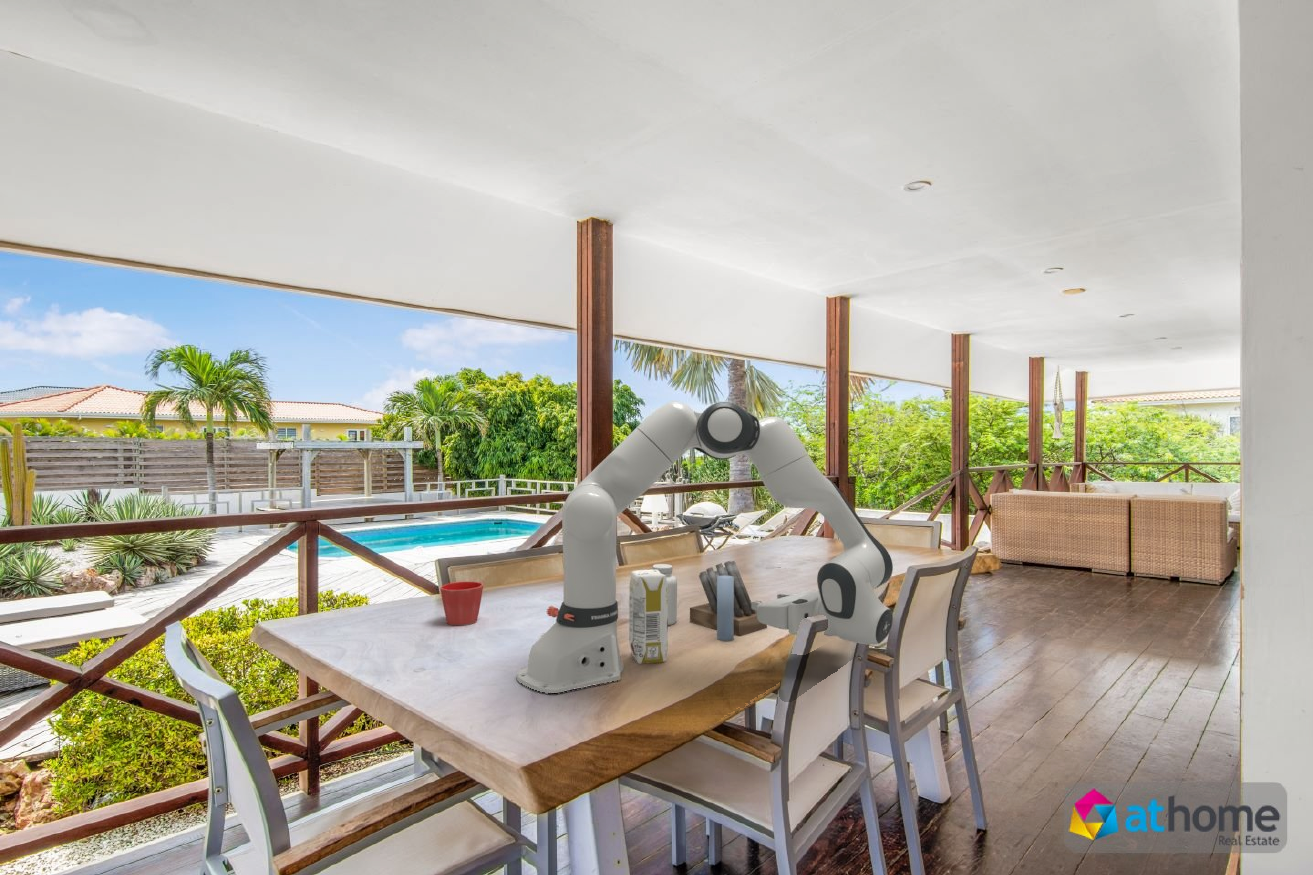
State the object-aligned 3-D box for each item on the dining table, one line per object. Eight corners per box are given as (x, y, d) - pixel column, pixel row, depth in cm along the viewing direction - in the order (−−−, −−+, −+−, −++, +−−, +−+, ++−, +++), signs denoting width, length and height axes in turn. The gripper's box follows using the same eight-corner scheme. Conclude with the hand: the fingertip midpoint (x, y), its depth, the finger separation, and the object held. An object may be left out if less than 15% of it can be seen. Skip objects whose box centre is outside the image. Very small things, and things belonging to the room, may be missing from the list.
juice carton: (636, 665, 143) (636, 577, 143) (627, 653, 152) (627, 569, 152) (670, 662, 145) (670, 575, 145) (659, 650, 154) (659, 568, 154)
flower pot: (437, 619, 180) (437, 583, 180) (479, 614, 185) (479, 579, 185) (443, 629, 170) (443, 591, 170) (486, 624, 175) (486, 587, 175)
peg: (726, 642, 160) (726, 579, 160) (713, 638, 163) (713, 576, 163) (736, 638, 163) (737, 577, 163) (724, 635, 166) (724, 574, 166)
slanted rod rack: (766, 630, 173) (767, 562, 172) (739, 638, 165) (739, 568, 165) (717, 617, 185) (717, 553, 185) (689, 624, 178) (690, 558, 178)
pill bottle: (677, 626, 173) (677, 568, 173) (646, 626, 174) (646, 568, 174) (676, 618, 181) (677, 562, 181) (647, 617, 182) (647, 562, 182)
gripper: (843, 589, 151) (793, 580, 161) (789, 605, 137) (737, 594, 147) (844, 617, 151) (793, 606, 161) (790, 636, 137) (738, 623, 147)
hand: (766, 600), depth 154 cm, fingers open, 8 cm apart
